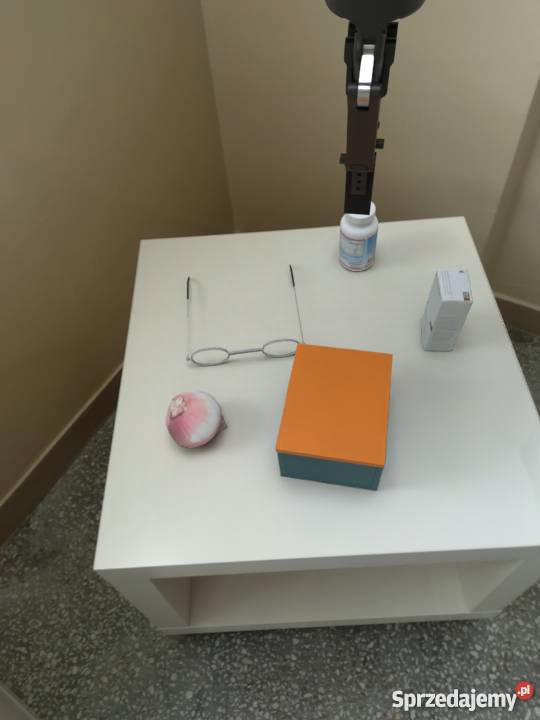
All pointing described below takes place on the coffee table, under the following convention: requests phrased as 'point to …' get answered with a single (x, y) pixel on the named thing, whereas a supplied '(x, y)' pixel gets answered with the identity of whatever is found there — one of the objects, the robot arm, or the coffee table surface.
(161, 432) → the coffee table surface
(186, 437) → the onion
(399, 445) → the coffee table surface
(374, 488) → the box
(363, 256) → the pill bottle
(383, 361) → the lid
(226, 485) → the coffee table surface
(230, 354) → the eyeglasses
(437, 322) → the cosmetic box
